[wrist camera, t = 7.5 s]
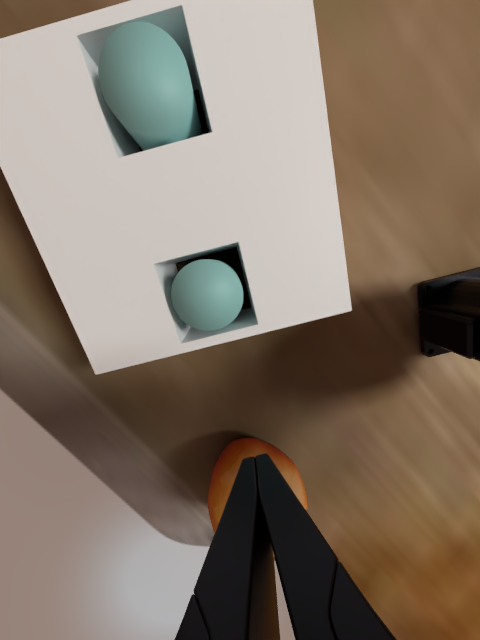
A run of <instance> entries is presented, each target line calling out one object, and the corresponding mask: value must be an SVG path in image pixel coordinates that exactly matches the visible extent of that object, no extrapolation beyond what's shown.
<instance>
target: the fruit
mask: <svg viewBox="0 0 480 640" xmlns="http://www.w3.org/2000/svg"><path fill="white" fill-rule="evenodd" d="M265 453H267V454H268V455H269V456H270V458H271V459H272V461H273V462H274V464H275V465H276V467H277V468H278V470H279V471H280V473H281V474H282V476H283V477H284V479H285V480H286V482H287V483H288V485H289V486H290V488H291V489H292V491H293V492H294V494H295V495H296V497H297V498H298V500H299V501H300V503H301V504H302V505H303V507H304V508H305V510H307V507H308V505H307V498H306V493H305V488H304V484H303V481H302V479H301V476H300V474H299V471H298V469H297V467H296V465H295V464H294V463H293V461H292V460H291V459H290V458H289V457H288V456H287V455H286V454H285V453H283V452H282V451H281V450H280V449H278V448H277V447H275V446H273V445H272V444H269V443H267V442H265V441H262V440H260V439H256V438H250V437H249V438H241V439H237V440H234V441H232V442H230V443H229V444H228V445H227V446H226V447H225V449H224V450H223V451H222V453H221V454H220V456H219V458H218V460H217V461H216V463H215V466H214V468H213V472H212V476H211V481H210V487H209V493H208V509H209V515H210V519H211V523H212V527H213V530H214V533H215V532H216V529H217V526H218V524H219V521H220V518H221V516H222V513H223V510H224V508H225V505H226V502H227V499H228V497H229V494H230V491H231V489H232V486H233V483H234V481H235V478H236V475H237V473H238V470H239V467H240V464H241V462H242V460H243V459H244V458H248V457H252V456H254V457H256V456H257V455H260V454H265ZM273 557H274V553H273Z"/></svg>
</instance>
